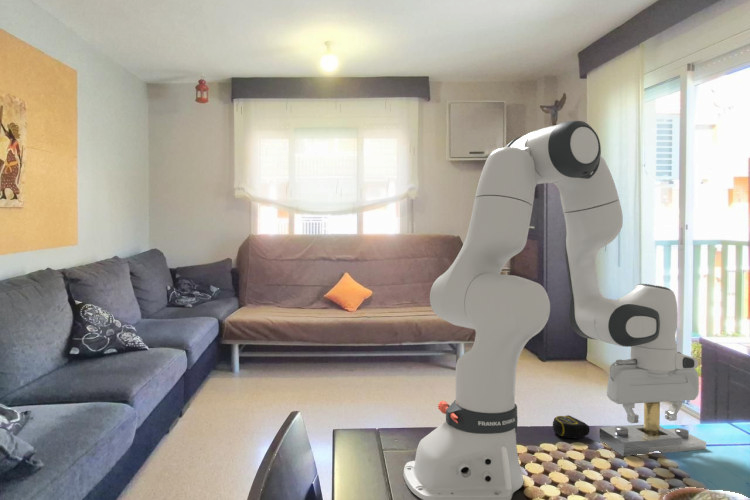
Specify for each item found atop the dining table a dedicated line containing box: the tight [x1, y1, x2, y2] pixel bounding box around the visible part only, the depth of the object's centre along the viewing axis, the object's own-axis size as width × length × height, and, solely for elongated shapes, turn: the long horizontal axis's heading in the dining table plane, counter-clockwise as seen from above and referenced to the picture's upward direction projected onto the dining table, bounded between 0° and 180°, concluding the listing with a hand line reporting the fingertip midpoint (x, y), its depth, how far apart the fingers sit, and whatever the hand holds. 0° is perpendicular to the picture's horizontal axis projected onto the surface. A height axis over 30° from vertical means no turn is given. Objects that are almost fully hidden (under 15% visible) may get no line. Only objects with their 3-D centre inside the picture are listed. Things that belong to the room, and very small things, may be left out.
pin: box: [643, 402, 661, 436], centre depth 110 cm, size 3×3×10 cm
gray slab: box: [599, 424, 707, 457], centre depth 110 cm, size 20×8×4 cm, turn 101°
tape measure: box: [552, 414, 590, 439], centre depth 116 cm, size 7×7×4 cm
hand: (651, 421), depth 110 cm, fingers open, 8 cm apart
